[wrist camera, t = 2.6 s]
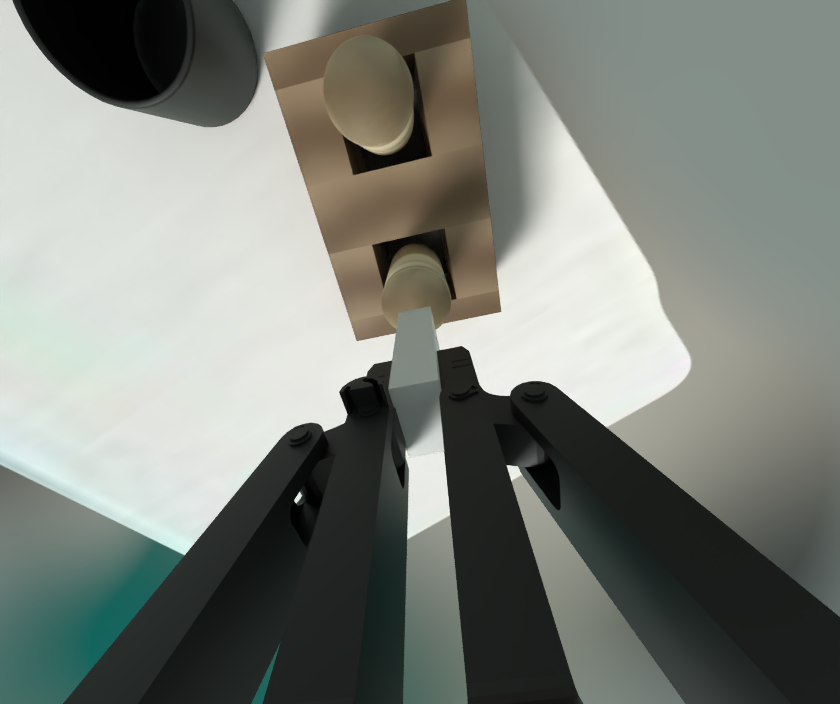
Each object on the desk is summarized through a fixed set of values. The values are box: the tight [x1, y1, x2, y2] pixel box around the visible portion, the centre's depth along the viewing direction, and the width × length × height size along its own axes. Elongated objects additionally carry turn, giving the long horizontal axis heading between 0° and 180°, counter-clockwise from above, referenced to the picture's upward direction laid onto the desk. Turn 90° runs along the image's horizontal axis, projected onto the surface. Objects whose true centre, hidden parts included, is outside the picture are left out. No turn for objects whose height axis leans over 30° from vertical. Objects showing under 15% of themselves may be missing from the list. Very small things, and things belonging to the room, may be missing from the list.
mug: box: [13, 0, 257, 127], centre depth 22 cm, size 9×12×9 cm
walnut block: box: [263, 0, 501, 341], centre depth 27 cm, size 19×12×8 cm, turn 12°
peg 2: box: [381, 243, 451, 330], centre depth 23 cm, size 4×4×8 cm
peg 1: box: [323, 36, 414, 156], centre depth 19 cm, size 4×4×8 cm
